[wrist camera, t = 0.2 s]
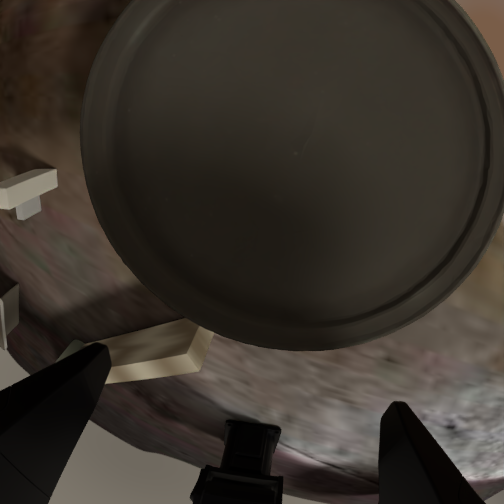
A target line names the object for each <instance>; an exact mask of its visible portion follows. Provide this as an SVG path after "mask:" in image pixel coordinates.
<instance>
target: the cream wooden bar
mask: <svg viewBox="0 0 504 504" xmlns="http://www.w3.org/2000/svg"><path fill="white" fill-rule="evenodd" d="M213 335H214V332H211V331H209V330H206V329H205V328H203V327H201V326H199V325H197V324H195V323H193V322H192V321H190V320H188V319H187V318H183V319H180V320H176V321H173V322H169V323H165V324H162V325H158V326H154V327H150V328H147V329H143V330H139V331H135V332H131V333H127V334H123V335H120V336H116V337H112V338H108V339H104V340H99V341H95V342H100V343H103V344H105V345H107V346H108V348H109V352H110V357H111V361H112V367H111V370H110V373H109V375H108V377H107V380H106V382H105V384H106V383H117V382H126V381H135V380H144V379H151V378H159V377H166V376H173V375H179V374H186V373H192V372H198V371H200V369H201V366H202V364H203V361H204V359H205V356H206V353H207V351H208V348H209V345H210V343H211V340H212V337H213ZM92 343H94V342H91V343H87V344H84V346H82V347H81V348H80V349H82V348H84V347H86V346H88V345H90V344H92ZM80 349H79V350H80ZM79 350H78V351H79Z"/></svg>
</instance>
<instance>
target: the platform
mask: <svg viewBox="0 0 504 504" xmlns="http://www.w3.org/2000/svg"><path fill="white" fill-rule="evenodd" d="M18 323H19V283H18V284H16V285H15V286H14V287H13V288H12V289H10V290H9V291H8V292H7V293H6V294H4V295H3V296H2V297H1V298H0V347H1V348H2V349H3V350H5V349H6V348H7V342H6V335H7V334H8V333H9V332H10V331H11V330H12V329H13V328H14V327H15V326H16V325H17V324H18Z"/></svg>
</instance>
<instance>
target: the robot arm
mask: <svg viewBox="0 0 504 504" xmlns="http://www.w3.org/2000/svg"><path fill="white" fill-rule="evenodd" d="M111 367H112V361H111V357H110V352H109V348H108V346H107V345H105V344H103V343H100V342H94V343H92V344H90V345H88V346H86V347H84V348H82V349H80V350H79V351H77V352H75V353H73V354H71V355H69V356H67V357H65V358H63V359H61V360H59V361H57V362H55V363H54V364H52V365H50V366H48V367H46V368H44V369H42V370H40V371H38V372H36V373H34V374H32V375H30V376H29V377H26V378H25V379H23V380H21V381H19V382H17V383H15V384H13V385H12V386H9V387H7V388H5V389H3V390H1V391H0V504H48V503H49V500H50V497H51V496H52V493H53V491H54V489H55V487H56V485H57V483H58V480H59V478H60V476H61V474H62V472H63V470H64V468H65V466H66V464H67V462H68V459H69V457H70V455H71V454H72V452H73V449H74V448H75V446H76V444H77V442H78V440H79V438H80V436H81V434H82V432H83V430H84V428H85V426H86V424H87V422H88V420H89V418H90V417H91V415H92V413H93V411H94V409H95V407H96V405H97V402H98V400H99V397H100V395H101V392H102V390H103V387H104V385H105V382H106V380H107V377H108V375H109V373H110V370H111ZM280 434H281V428H278V427H270V426H263V425H256V424H250V423H244V422H238V421H232V420H227V421H226V423H225V438H224V445H225V449H224V453H223V457H222V462H221V466H220V468H218V467H213V466H211V465H206V467H205V469H201V471H200V475H199V478H198V481H197V483H196V485H195V487H194V489H193V491H192V493H191V495H190V499H191V500H192V502H193V504H282V494H283V476H270V471H271V463H272V456H273V453H274V452H275V449H276V446H277V443H278V440H279V437H280ZM378 469H379V504H486V503H485V502H484V501H483V500H482V499H481V498H480V496H479V495H478V494H477V493H476V492H475V491H474V489H473V488H472V487H471V486H470V484H469V483H468V482H467V480H466V479H465V478H464V477H463V476H462V474H461V473H460V471H459V470H458V469H457V467H456V466H455V465H454V463H453V462H452V461H451V460H450V458H449V457H448V456H447V454H446V453H445V452H444V450H443V449H442V448H441V447H440V445H439V444H438V443H437V441H436V440H435V439H434V438H433V436H432V435H431V434H430V432H429V431H428V430H427V429H426V427H425V426H424V425H423V424H422V422H421V421H420V420H419V419H418V417H417V416H416V415H415V413H414V412H413V411H412V410H411V408H410V407H409V406H408V405H407V404H406V403H405V402H402V401H394V402H392V403H391V404H390V406H389V407H388V409H387V410H386V411H385V413H384V414H383V416H382V418H381V422H380V443H379V460H378Z"/></svg>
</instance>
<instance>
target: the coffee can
mask: <svg viewBox="0 0 504 504" xmlns="http://www.w3.org/2000/svg"><path fill="white" fill-rule="evenodd" d="M80 146H81V156H82V164H83V170H84V175H85V180H86V185H87V189H88V192H89V196H90V199H91V202H92V205H93V208H94V210H95V213H96V216H97V218H98V221H99V223H100V225H101V227H102V229H103V230H104V232H105V234H106V236H107V238H108V240H109V242H110V243H111V245H112V247H113V248H114V250H115V251H116V253H117V254H118V255H119V256H120V257H121V259H122V261H123V263H124V264H125V265H126V266H127V267H128V268H129V269H130V270H131V271H132V272H133V274H134V275H135V276H136V277H137V278H138V279H139V281H140V282H141V283H142V284H143V285H145V286H146V287H147V288H148V289H149V290H150V291H151V292H152V293H153V294H155V295H156V296H157V297H158V298H159V299H160V300H162V301H163V302H164V303H165V304H167V305H168V306H169V307H171V308H172V309H174V310H175V311H176V312H178V313H179V314H181V315H182V316H184V317H185V318H187V319H188V320H190V321H192V322H193V323H195V324H197V325H199V326H201V327H203V328H205V329H206V330H209V331H211V332H214V333H217V334H219V335H221V336H223V337H226V338H229V339H233V340H236V341H239V342H242V343H245V344H250V345H254V346H258V347H264V348H270V349H278V350H288V351H324V350H334V349H339V348H345V347H350V346H355V345H359V344H363V343H367V342H370V341H373V340H376V339H378V338H381V337H384V336H386V335H389V334H391V333H393V332H395V331H397V330H399V329H401V328H403V327H405V326H407V325H409V324H411V323H413V322H415V321H416V320H418V319H420V318H422V317H423V316H425V315H426V314H427V313H429V312H430V311H431V310H433V309H434V308H435V307H437V306H438V305H439V304H440V303H442V302H443V301H444V300H445V299H447V298H448V297H449V296H450V295H451V294H452V293H453V292H454V291H455V290H456V289H457V288H458V287H459V286H460V285H461V284H462V283H463V282H464V281H465V279H466V278H467V277H468V276H469V275H470V274H471V272H472V271H473V270H474V269H475V268H476V266H477V265H478V263H479V262H480V260H481V259H482V257H483V256H484V254H485V252H486V251H487V249H488V247H489V245H490V244H491V242H492V240H493V238H494V236H495V234H496V232H497V230H498V227H499V225H500V222H501V220H502V216H503V213H504V80H503V77H502V74H501V72H500V69H499V67H498V64H497V62H496V60H495V57H494V55H493V53H492V51H491V50H490V48H489V46H488V44H487V43H486V41H485V39H484V38H483V36H482V34H481V33H480V31H479V30H478V28H477V27H476V25H475V24H474V23H473V21H472V20H471V19H470V17H469V16H468V14H467V13H466V12H465V11H464V10H463V8H462V7H461V6H460V5H459V4H458V3H457V2H456V1H455V0H132V1H131V2H130V3H129V4H128V5H127V7H126V8H125V9H124V10H123V12H122V13H121V14H120V16H119V17H118V19H117V20H116V22H115V23H114V25H113V26H112V27H111V29H110V30H109V32H108V34H107V36H106V38H105V39H104V41H103V43H102V45H101V47H100V49H99V51H98V53H97V55H96V57H95V59H94V62H93V65H92V68H91V71H90V74H89V77H88V80H87V84H86V88H85V93H84V98H83V103H82V108H81V119H80Z"/></svg>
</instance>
